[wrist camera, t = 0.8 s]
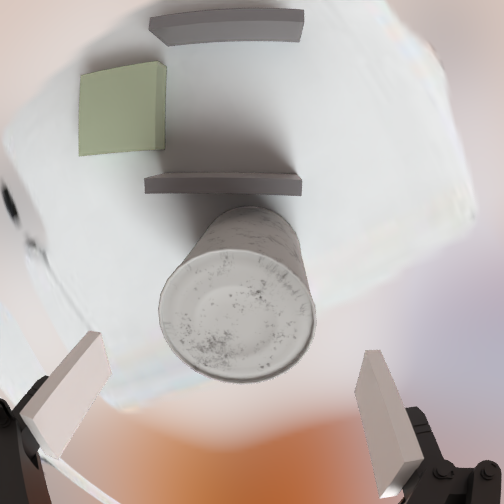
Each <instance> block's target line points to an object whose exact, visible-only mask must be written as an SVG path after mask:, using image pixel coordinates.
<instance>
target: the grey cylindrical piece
mask: <svg viewBox="0 0 504 504" xmlns="http://www.w3.org/2000/svg"><path fill="white" fill-rule="evenodd" d="M158 313H159V323H160V327H161V330H162V333H163V336H164V338H165V340H166V342H167V343H168V345H169V347H170V348H171V350H172V351H173V352H174V354H175V355H176V356H177V357H178V358H179V359H180V360H181V361H182V362H183V363H184V364H186V365H187V366H188V367H190V368H191V369H193V370H194V371H195V372H197V373H199V374H202V375H204V376H206V377H208V378H210V379H213V380H217V381H221V382H224V383H232V384H254V383H260V382H264V381H267V380H271V379H274V378H276V377H278V376H280V375H282V374H284V373H286V372H287V371H289V370H290V369H291V368H292V367H294V366H295V365H296V364H298V363H299V361H300V360H301V359H302V358H303V356H304V355H305V354H306V353H307V351H308V349H309V347H310V345H311V343H312V341H313V339H314V335H315V329H316V324H317V321H316V310H315V305H314V302H313V299H312V296H311V293H310V289H309V285H308V280H307V276H306V272H305V268H304V263H303V259H302V255H301V249H300V243H299V240H298V238H297V235H296V233H295V231H294V230H293V229H292V227H291V226H290V224H289V223H288V222H287V221H286V220H284V219H283V218H282V217H281V216H280V215H278V214H276V213H274V212H273V211H271V210H268V209H264V208H261V207H253V206H245V207H238V208H234V209H232V210H229V211H227V212H224V213H223V214H222V215H220V216H219V217H217V218H216V219H215V220H214V221H213V222H212V223H211V225H210V226H209V227H208V228H207V230H206V232H205V234H204V235H203V236H202V237H201V239H200V240H199V241H198V243H197V244H196V245H195V246H194V248H193V249H192V250H191V252H190V253H189V254H188V256H187V257H186V258H185V259H184V261H183V262H182V263H181V265H179V266H178V267H177V268H176V270H175V271H174V272H173V273H172V274H171V276H170V277H169V278H168V279H167V281H166V283H165V285H164V288H163V290H162V292H161V295H160V301H159V307H158Z"/></svg>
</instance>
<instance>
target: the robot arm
mask: <svg viewBox="0 0 504 504" xmlns="http://www.w3.org/2000/svg"><path fill="white" fill-rule="evenodd" d="M111 374H112V372H111V368H110V365H109V361H108V357H107V354H106V350H105V346H104V342H103V338H102V334H101V333H100V332H94V331H88V333H87V334H86V335H85V336H84V337H83V338H82V339H81V340H80V342H79V343H78V344H77V345H76V346H75V347H74V348H73V349H72V351H71V352H70V353H69V354H68V355H67V356H66V358H65V359H64V360H63V361H62V362H61V364H60V365H59V366H58V367H57V368H56V369H55V370H54V372H53V373H52V374H51V375H50V376H46V375H45V376H44V377H42V378H41V379H39V380H37V381H36V383H35V384H34V385H33V386H32V387H31V389H30V390H29V391H28V392H27V394H25V396H24V397H23V398H22V399H21V400H20V402H19V403H18V404H17V405H16V407H15V408H14V409H13V410H12V411H11V409H10V407H9V405H8V404H7V402H6V401H5V400H3V399H1V398H0V504H52V503H51V500H50V496H49V493H48V489H47V485H46V481H45V477H44V473H43V469H42V465H41V460H40V456H39V453H38V452H37V451H38V449H39V448H40V447H41V449H42V450H43V452H44V453H45V454H46V455H48V456H50V457H52V458H55V459H57V460H59V458H60V456H61V455H62V453H63V451H64V449H65V448H66V446H67V444H68V443H69V441H70V439H71V438H72V436H73V434H74V433H75V431H76V430H77V428H78V426H79V425H80V423H81V421H82V420H83V418H84V416H85V415H86V413H87V412H88V410H89V408H90V407H91V405H92V404H93V402H94V400H95V399H96V397H97V396H98V394H99V393H100V391H101V390H102V388H103V386H104V385H105V383H106V382H107V380H108V379H109V377H110V376H111ZM355 396H356V400H357V404H358V408H359V411H360V415H361V419H362V423H363V427H364V432H365V436H366V440H367V444H368V448H369V452H370V457H371V461H372V466H373V470H374V475H375V479H376V484H377V488H378V494H379V498H385V497H391V496H396V495H398V494H399V493H400V491H401V490H402V489H403V492H404V497H403V499H402V500H401V501H400V502H399V503H398V504H500V497H501V469H500V468H499V466H498V464H496V463H495V462H493V461H489V460H485V461H482V462H480V463H479V464H478V465H477V466H476V467H475V468H458V467H455V466H454V465H453V463H451V462H450V461H448V460H444V458H443V456H442V454H441V451H440V449H439V447H438V444H437V442H436V439H435V437H434V435H433V432H431V431H432V430H431V428H430V425H428V421H427V419H426V416H425V414H424V413H423V412H422V411H421V410H420V409H419V408H418V407H409V408H405V407H404V404H403V402H402V399H401V397H400V395H399V392H398V390H397V387H396V385H395V383H394V380H393V378H392V376H391V374H390V371H389V369H388V367H387V364H386V362H385V360H384V357H383V355H382V353H381V351H380V350H366V351H365V354H364V358H363V362H362V366H361V370H360V374H359V377H358V381H357V385H356V388H355Z"/></svg>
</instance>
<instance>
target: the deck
mask: <svg viewBox="0 0 504 504" xmlns="http://www.w3.org/2000/svg"><path fill="white" fill-rule="evenodd" d="M166 72H167V67H166V66H164V65H163V64H162V63H160V62H159V61H153V62H146V63H139V64H133V65H127V66H122V67H117V68H112V69H107V70H102V71H97V72H93V73H89V74H84V75H81V80H80V97H79V156H87V155H97V154H107V153H118V152H130V151H144V150H162V149H165V98H166Z"/></svg>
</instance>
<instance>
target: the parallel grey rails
mask: <svg viewBox="0 0 504 504" xmlns="http://www.w3.org/2000/svg"><path fill="white" fill-rule="evenodd" d="M303 26H304V10H300V9H280V8H238V9H218V10H205V11H194V12H185V13H178V14H170V15H164V16H157V17H152V18H150V23H149V31H151V32H152V33H153V34H154V35H155V36H157V37H158V38H159V39H160V40H161V41H162V42H164V43H165V44H166V45H167V46H175V45H184V44H195V43H208V42H225V41H285V42H300V38H301V34H302V30H303ZM144 182H145V194H149V193H224V194H265V195H290V196H301V194H302V179H301V178H300V177H299V176H298V175H297V174H279V173H245V172H178V173H162V174H159V175H155V176H151V177H148V178H144Z"/></svg>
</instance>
